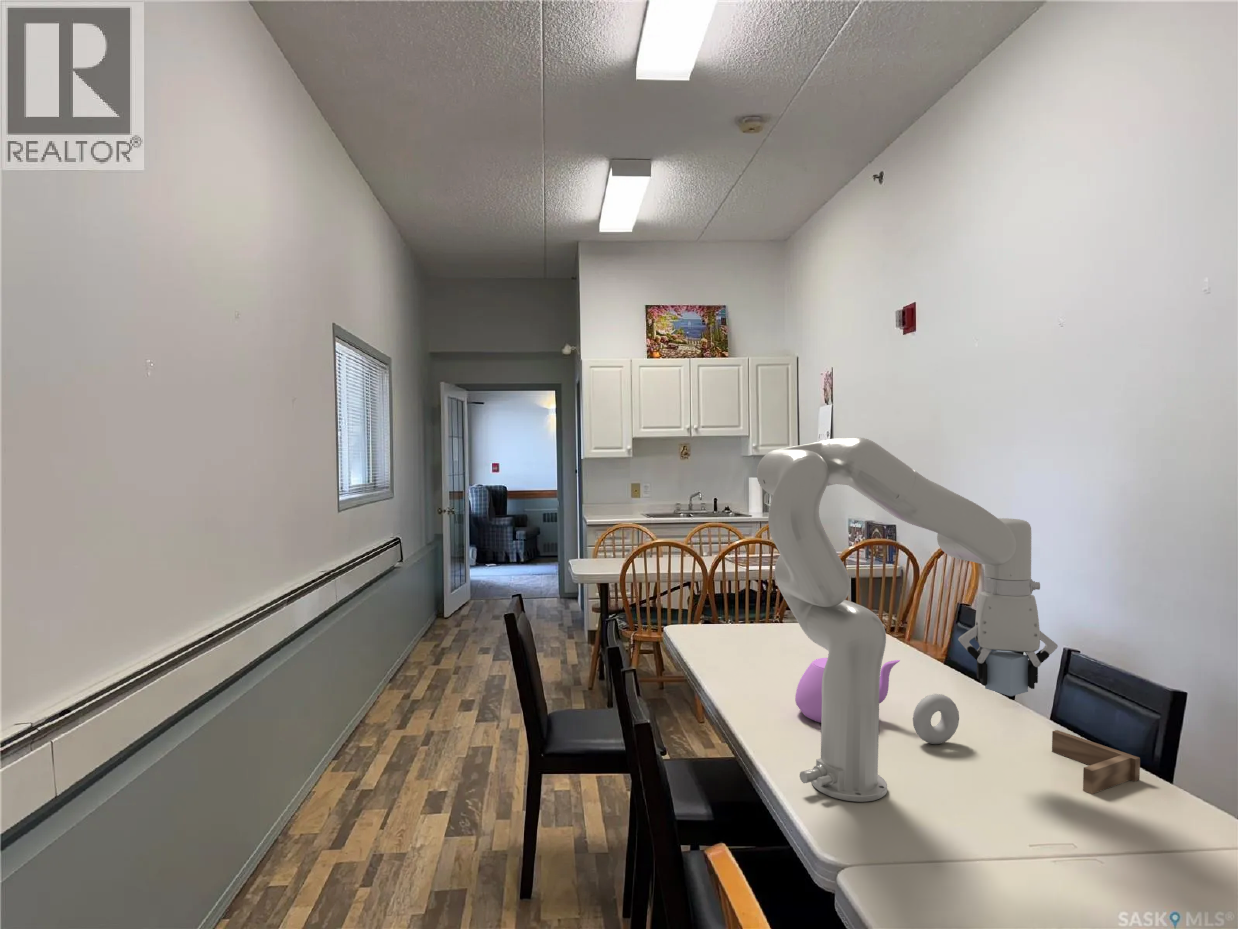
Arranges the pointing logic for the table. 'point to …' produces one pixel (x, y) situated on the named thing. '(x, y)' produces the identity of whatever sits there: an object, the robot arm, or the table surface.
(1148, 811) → the table surface
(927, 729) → the donut
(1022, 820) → the table surface
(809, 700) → the teapot
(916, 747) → the table surface
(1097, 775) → the corner stop
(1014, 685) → the block
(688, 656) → the table surface
